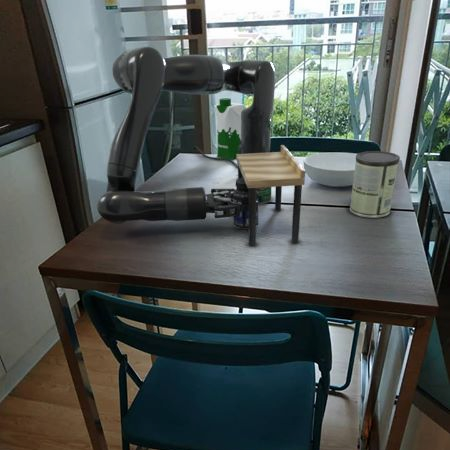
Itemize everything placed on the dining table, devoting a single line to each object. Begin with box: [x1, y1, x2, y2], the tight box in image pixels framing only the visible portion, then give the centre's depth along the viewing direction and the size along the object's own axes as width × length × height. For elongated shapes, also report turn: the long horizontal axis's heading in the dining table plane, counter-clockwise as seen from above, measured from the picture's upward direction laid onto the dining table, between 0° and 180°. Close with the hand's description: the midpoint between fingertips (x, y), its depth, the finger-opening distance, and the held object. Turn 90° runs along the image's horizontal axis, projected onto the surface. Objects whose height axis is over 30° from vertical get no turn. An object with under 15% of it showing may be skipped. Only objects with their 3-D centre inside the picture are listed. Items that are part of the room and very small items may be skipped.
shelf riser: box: [235, 144, 306, 247], centre depth 104 cm, size 22×12×17 cm, turn 5°
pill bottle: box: [232, 178, 259, 230], centre depth 105 cm, size 6×6×11 cm
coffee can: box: [349, 150, 401, 219], centre depth 111 cm, size 10×10×14 cm
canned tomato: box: [256, 187, 272, 205], centre depth 122 cm, size 8×8×11 cm
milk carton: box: [213, 97, 245, 161], centre depth 160 cm, size 9×9×20 cm
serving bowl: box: [303, 151, 358, 188], centre depth 133 cm, size 21×21×7 cm
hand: (255, 200), depth 105 cm, fingers closed on pill bottle, 6 cm apart
